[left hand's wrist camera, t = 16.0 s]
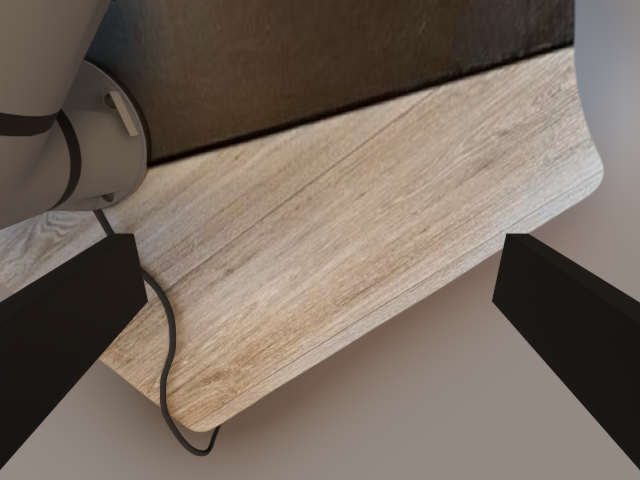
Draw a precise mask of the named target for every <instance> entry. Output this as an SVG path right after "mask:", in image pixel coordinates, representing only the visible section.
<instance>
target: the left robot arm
mask: <svg viewBox="0 0 640 480" xmlns="http://www.w3.org/2000/svg"><path fill="white" fill-rule="evenodd" d="M111 1H112V0H0V230H1V229H4V228H6V227H9V226H11V225H14V224H16V223H19V222H21V221H24V220H26V219H29V218H31V217H34V216H36V215H39V214H41V213H44V212H46V211H92V210H93V212H94V213H95V215H96V217H97V219H98V220H99V222H100V224H101V226H102V227H103V229H104V231H105V233H106V234H107V237H106V238H104V239H102V240H101V241H99V242H97V243H96V244H94V245H93V246H91V247H89V248H88V249H86V250H84V251H83V252H81V253H80V254H78V255H76V256H75V257H73V258H71V259H70V260H68V261H67V262H65V263H63V264H62V265H60V266H59V267H57V268H55V269H54V270H52V271H50V272H49V273H47V274H46V275H44V276H42V277H41V278H39V279H37V280H36V281H34V282H33V283H31V284H29V285H28V286H26V287H24V288H23V289H21V290H20V291H18V292H16V293H15V294H13V295H12V296H10V297H8V298H7V299H5V300H3V301H2V302H0V470H1V468H2V467H3V466H4V465H5V464H6V463H7V462H8V460H9V459H10V458H11V457H12V456H13V455H14V454H15V452H16V451H17V450H18V449H19V448H20V447H21V446H22V444H23V443H24V442H25V441H26V440H27V439H28V438H29V436H30V435H31V434H32V433H33V432H34V431H35V430H36V429H37V427H38V426H39V425H40V424H41V423H42V422H43V421H44V419H45V418H46V417H47V416H48V415H49V414H50V413H51V411H52V410H53V409H54V408H55V407H56V406H57V404H58V403H59V402H60V401H61V400H62V399H63V398H64V397H65V395H66V394H67V393H68V392H69V391H70V390H71V389H72V387H73V386H74V385H75V384H76V383H77V382H78V381H79V379H80V378H81V377H82V376H83V375H84V374H85V373H86V371H87V370H88V369H89V368H90V367H91V366H92V365H93V363H94V362H95V361H96V360H97V359H98V358H99V357H100V356H101V354H102V353H103V352H104V351H105V350H106V349H107V348H108V346H109V345H110V344H111V343H112V342H113V341H114V340H115V338H116V337H117V336H118V335H119V334H120V333H121V332H122V330H123V329H124V328H125V327H126V326H127V325H128V324H129V322H130V321H131V320H132V319H133V318H134V317H135V316H136V314H137V313H138V312H139V311H140V310H141V309H142V308H143V306H144V305H145V304H146V303H147V302H148V299H147V294H146V289H145V285H144V280H145V281H146V282H147V283H148V284H149V285H150V286H151V287H152V288H153V289H154V291H155V292H156V293H157V295H158V296H159V298H160V300H161V302H162V304H163V306H164V308H165V311H166V314H167V318H168V322H169V333H170V348H169V354H168V358H167V361H166V364H165V367H164V369H163V373H162V376H161V382H160V405H161V410H162V414H163V416H164V419H165V421H166V423H167V424H168V426H169V428H170V429H171V431H172V432H173V434H174V435H175V437H176V438H177V440H178V441H179V442H180V443H181V444H182V446H183V447H184V448H185V449H187V450H188V451H189V452H191V453H192V454H194V455H197V456H206V455H208V454H209V453H210V452H211V450H212V448H213V446H214V443H215V440H216V437H217V434H218V431H219V429H220V427H221V424H222V423H221V424H219V425H218V426H216V427H215V430H214V432H213V434H212V437H211V441H210V444H209V446H208V448H207V449H206V450H198V449H196V448H194V447H192V446H191V445H190V444H189V443H188V442H187V441H186V440H185V439H184V438H183V436H182V435H181V434H180V432H179V431H178V429H177V428H176V426H175V425H174V423H173V421H172V419H171V418H170V415H169V413H168V410H167V405H166V381H167V376H168V372H169V369H170V366H171V364H172V361H173V358H174V354H175V349H176V326H175V319H174V314H173V311H172V308H171V305H170V303H169V301H168V299H167V297H166V295H165V293H164V292H163V290H162V289H161V287H160V286H159V285H158V284H157V283H156V282H155V280H154V279H153V278H152V277H151V276H149V275H148V274H147V273H146V272H145V271H144V270H143V269H142V268H141V266H140V261H139V256H138V252H137V247H136V242H135V238H134V234H115V233H114V231H113V230H112V228H111V226H110V224H109V223H108V221H107V219H106V217H105V215H104V214H103V212H102V210H101V209H103V208H107V207H109V206H112V205H114V204H116V203H118V202H120V201H122V200H124V199H126V198H127V197H129V196H130V195H131V194H133V193H134V192H135V191H136V190H137V189H138V187H139V186H140V185H141V183H142V182H143V180H144V178H145V177H146V174H147V172H148V169H149V165H150V161H151V138H150V132H149V128H148V125H147V122H146V119H145V116H144V114H143V112H142V110H141V108H140V106H139V104H138V103H137V101H136V100H135V98H134V97H133V95H132V94H131V93H130V91H129V90H128V89H127V88H126V87H125V86H124V85H123V83H122V82H121V81H120V80H118V79H117V78H116V77H115V76H114V75H113V74H111V73H110V72H109V71H107V70H106V69H104V68H103V67H101V66H100V65H98V64H96V63H94V62H92V61H90V60H88V59H85V58H84V57H85V55H86V53H87V51H88V49H89V47H90V44H91V42H92V40H93V38H94V36H95V34H96V32H97V30H98V28H99V26H100V24H101V22H102V19H103V17H104V15H105V13H106V11H107V9H108V7H109V5H110V3H111ZM113 1H115V0H113ZM143 279H144V280H143ZM492 302H493V303H494V304H495V305H496V306H497V308H498V309H499V310H500V311H501V312H502V313H503V314H504V316H505V317H506V318H507V319H508V320H509V321H510V322H511V324H512V325H513V326H514V327H515V328H516V329H517V330H518V332H519V333H520V334H521V335H522V336H523V337H524V338H525V340H526V341H527V342H528V343H529V344H530V345H531V346H532V348H533V349H534V350H535V351H536V352H537V353H538V354H539V356H540V357H541V358H542V359H543V360H544V361H545V362H546V363H547V365H548V366H549V367H550V368H551V369H552V370H553V371H554V372H555V374H556V375H557V376H558V377H559V378H560V379H561V381H562V382H563V383H564V384H565V385H566V386H567V387H568V389H569V390H570V391H571V392H572V393H573V394H574V395H575V397H576V398H577V399H578V400H579V401H580V402H581V403H582V405H583V406H584V407H585V408H586V409H587V410H588V411H589V413H590V414H591V415H592V416H593V417H594V418H595V419H596V420H597V422H598V423H599V424H600V425H601V426H602V427H603V428H604V430H605V431H606V432H607V433H608V434H609V435H610V436H611V438H612V439H613V440H614V441H615V442H616V443H617V444H618V446H619V447H620V448H621V449H622V450H623V451H624V452H625V454H626V455H627V456H628V457H629V458H630V459H631V460H632V462H633V463H634V464H635V465H636V466H637V467H638V468H639V470H640V302H638V301H636V300H635V299H633V298H632V297H630V296H628V295H627V294H625V293H624V292H622V291H620V290H619V289H617V288H615V287H614V286H612V285H611V284H609V283H607V282H606V281H604V280H603V279H601V278H599V277H598V276H596V275H594V274H593V273H591V272H589V271H588V270H586V269H585V268H583V267H581V266H580V265H578V264H577V263H575V262H573V261H572V260H570V259H569V258H567V257H565V256H564V255H562V254H560V253H559V252H557V251H556V250H554V249H552V248H551V247H549V246H547V245H546V244H544V243H543V242H541V241H539V240H538V239H536V238H534V237H533V236H531V235H530V234H506V238H505V242H504V247H503V252H502V256H501V261H500V266H499V271H498V275H497V280H496V285H495V290H494V294H493V299H492Z"/></svg>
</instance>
